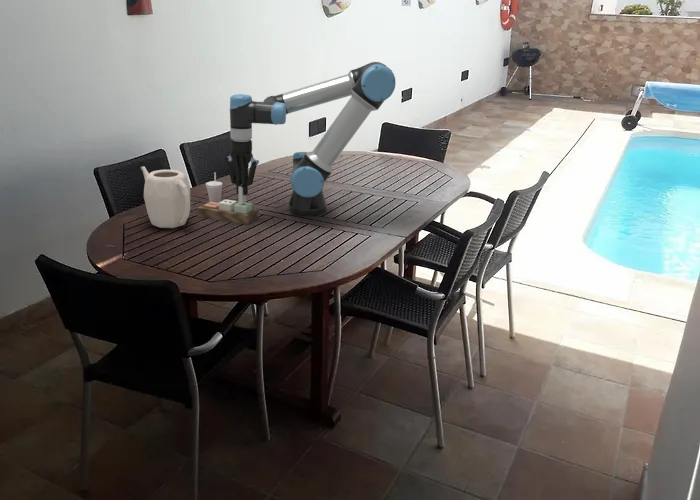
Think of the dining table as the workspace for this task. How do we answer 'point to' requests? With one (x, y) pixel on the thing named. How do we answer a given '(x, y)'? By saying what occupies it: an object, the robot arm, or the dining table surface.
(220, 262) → the dining table surface
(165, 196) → the watering can
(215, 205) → the orange square block
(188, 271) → the dining table surface
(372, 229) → the dining table surface
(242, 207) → the pale green block
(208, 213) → the button board
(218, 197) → the smoothie
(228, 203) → the white square block
